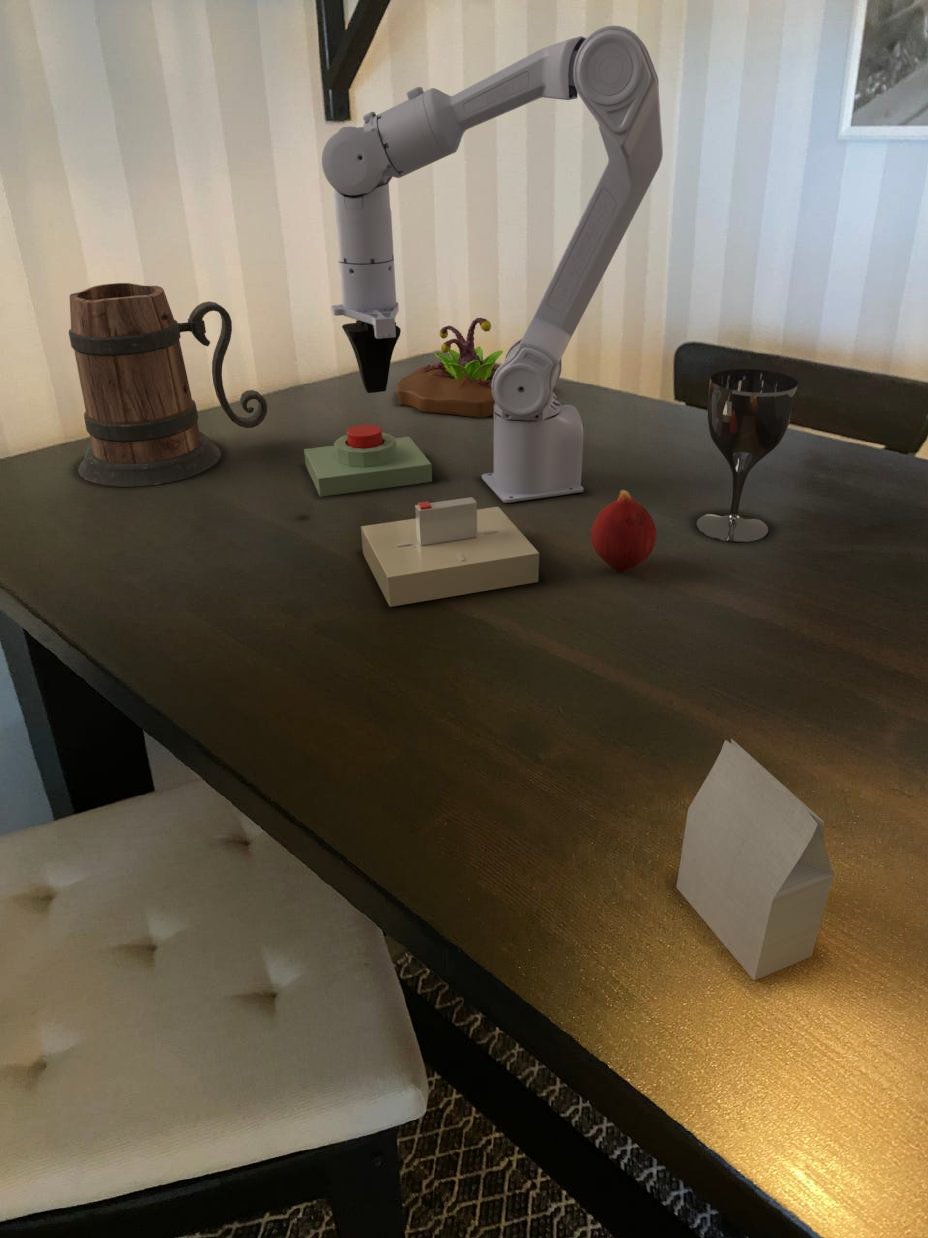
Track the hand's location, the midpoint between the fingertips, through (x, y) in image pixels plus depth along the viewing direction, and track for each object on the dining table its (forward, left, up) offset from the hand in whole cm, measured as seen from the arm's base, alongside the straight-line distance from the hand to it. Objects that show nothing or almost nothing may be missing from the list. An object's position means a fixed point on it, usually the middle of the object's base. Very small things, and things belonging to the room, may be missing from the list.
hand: (375, 390), depth 100 cm
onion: (-16, +30, -11) cm, 36 cm away
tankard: (+22, -16, -11) cm, 29 cm away
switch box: (-1, +24, -7) cm, 25 cm away
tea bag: (-4, +69, -11) cm, 70 cm away
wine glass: (-31, +25, -10) cm, 41 cm away
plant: (-20, -27, -10) cm, 35 cm away
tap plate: (-1, +24, -10) cm, 26 cm away
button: (+1, -2, -7) cm, 7 cm away
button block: (+1, -2, -10) cm, 11 cm away
